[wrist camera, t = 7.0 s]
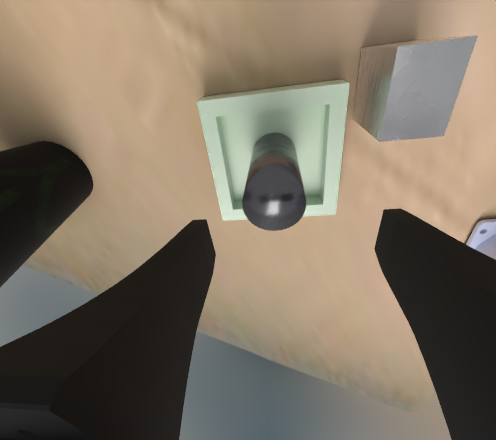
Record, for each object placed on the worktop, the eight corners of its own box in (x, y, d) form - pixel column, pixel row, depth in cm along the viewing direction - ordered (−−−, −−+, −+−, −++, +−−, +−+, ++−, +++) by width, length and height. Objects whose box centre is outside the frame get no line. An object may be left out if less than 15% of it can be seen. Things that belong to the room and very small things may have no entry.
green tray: (330, 201, 20) (335, 214, 19) (226, 207, 21) (222, 220, 20) (341, 79, 15) (349, 82, 13) (204, 96, 16) (196, 101, 15)
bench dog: (399, 114, 16) (443, 135, 12) (352, 118, 16) (379, 141, 12) (416, 40, 14) (477, 35, 10) (361, 47, 14) (397, 46, 10)
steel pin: (294, 174, 18) (303, 231, 13) (253, 174, 19) (243, 230, 13) (297, 132, 17) (309, 176, 11) (251, 133, 17) (240, 176, 11)
